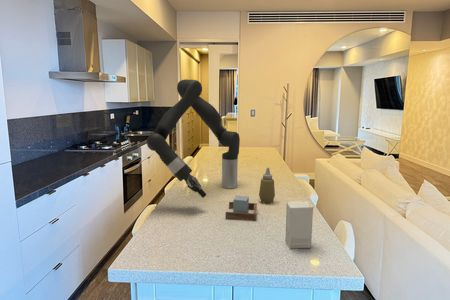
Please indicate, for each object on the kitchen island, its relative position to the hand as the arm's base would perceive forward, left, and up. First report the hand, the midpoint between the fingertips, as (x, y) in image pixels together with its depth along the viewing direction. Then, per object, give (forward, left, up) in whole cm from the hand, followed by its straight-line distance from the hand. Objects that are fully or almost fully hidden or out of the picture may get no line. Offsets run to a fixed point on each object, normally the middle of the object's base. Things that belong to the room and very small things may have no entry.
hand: (204, 196), depth 138 cm
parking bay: (0, +17, -7) cm, 18 cm away
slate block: (+1, +17, -8) cm, 19 cm away
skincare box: (+26, +40, -8) cm, 48 cm away
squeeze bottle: (-18, +29, -8) cm, 34 cm away
